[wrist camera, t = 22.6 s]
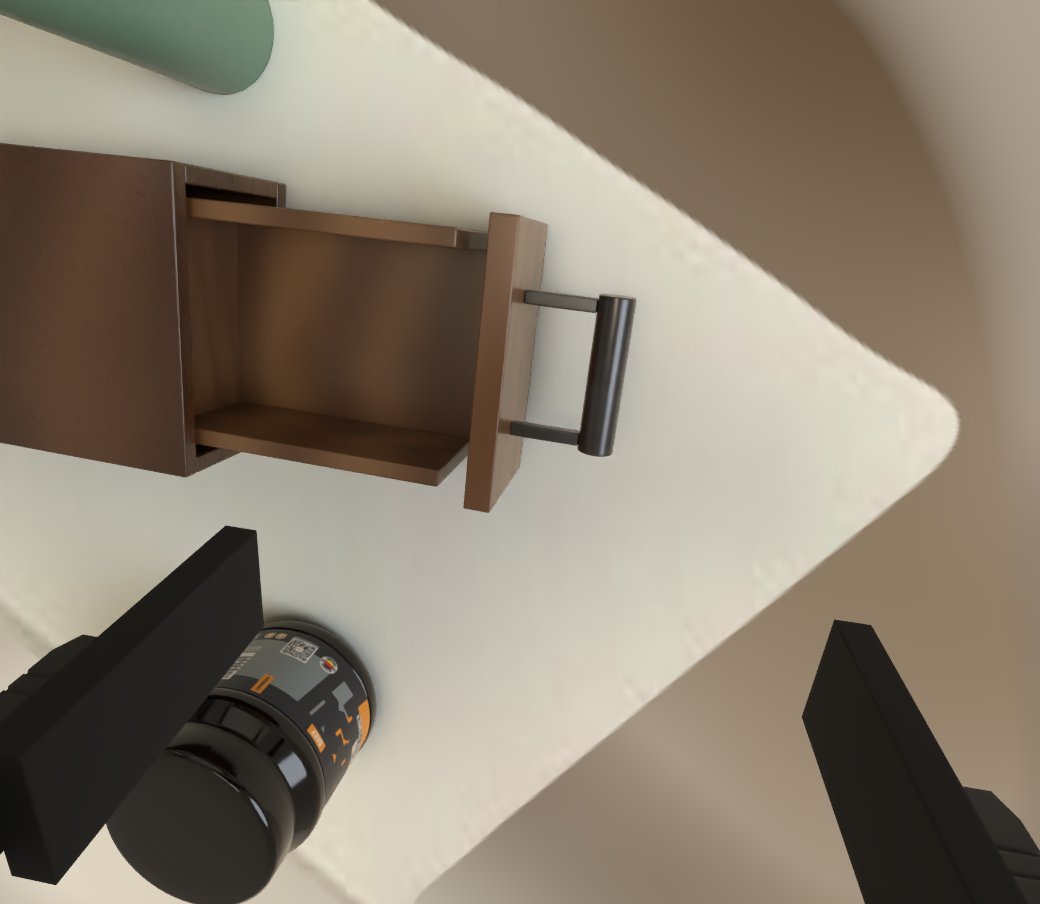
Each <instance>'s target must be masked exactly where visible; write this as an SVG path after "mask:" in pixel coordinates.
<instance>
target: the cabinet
mask: <svg viewBox="0 0 1040 904" xmlns="http://www.w3.org/2000/svg"><path fill="white" fill-rule="evenodd" d="M186 197H190V198H199V199H208V200H217V201H225V202H234V203H243V204H252V205H261V206H270V207H279V208H285V184H282V183H277V182H273V181H268V180H263V179H258V178H253V177H248V176H243V175H238V174H233V173H229V172H224V171H219V170H214V169H209V168H204V167H199V166H194V165H190V164H184V163H180V162H175V161H168V160H159V159H149V158H139V157H130V156H120V155H110V154H101V153H91V152H81V151H72V150H62V149H52V148H43V147H33V146H23V145H14V144H4V143H0V443H5V444H10V445H16V446H21V447H26V448H32V449H37V450H42V451H48V452H53V453H58V454H64V455H69V456H74V457H80V458H85V459H90V460H96V461H101V462H106V463H112V464H117V465H122V466H128V467H133V468H138V469H144V470H149V471H154V472H160V473H165V474H170V475H175V476H181V477H188V476H190V475H193V474H195V473H196V472H199V471H201V470H203V469H206V468H208V467H210V466H212V465H214V464H216V463H219V462H221V461H223V460H225V459H227V458H229V457H232V456H234V455H236V454H238V453H240V451H234V450H228V449H223V448H217V447H212V446H206V445H200V444H196V441H195V416H194V391H193V365H192V340H191V315H190V289H189V264H188V239H187V213H186Z"/></svg>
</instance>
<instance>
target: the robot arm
mask: <svg viewBox="0 0 1040 904" xmlns="http://www.w3.org/2000/svg"><path fill="white" fill-rule="evenodd" d="M263 627H264V621H263V608H262V596H261V583H260V570H259V557H258V544H257V532H256V530H250V529H244V528H237V527H231V526H225V527H224V528H222V529H221V530H220V531H219V532H218V533H217V534H215V535H214V536H213V537H212V538H211V539H210V540H209V541H207V542H206V543H205V544H204V545H203V546H202V547H201V548H199V549H198V550H197V551H196V552H195V553H194V554H192V555H191V556H190V557H189V558H188V559H187V560H186V561H184V562H183V563H182V564H181V565H180V566H179V567H178V568H176V569H175V570H174V571H173V572H172V573H171V574H170V575H168V576H167V577H166V578H165V579H164V580H163V581H161V582H160V583H159V584H158V585H157V586H156V587H155V588H153V589H152V590H151V591H150V592H149V593H148V594H147V595H145V596H144V597H143V598H142V599H141V600H140V601H138V602H137V603H136V604H135V605H134V606H133V607H132V608H130V609H129V610H128V611H127V612H126V613H125V614H124V615H122V616H121V617H120V618H119V619H118V620H117V621H116V622H114V623H113V624H112V625H111V626H110V627H109V628H107V629H106V630H105V631H104V632H103V633H102V634H101V635H99V636H98V637H93V636H88V635H81V636H79V637H77V638H75V639H73V640H71V641H69V642H67V643H65V644H63V645H61V646H59V647H57V648H55V649H53V650H52V651H51V652H49V653H48V654H47V655H46V656H44V657H43V658H42V659H41V660H40V661H39V662H37V663H36V664H35V665H34V666H32V667H31V668H30V669H29V670H28V673H27V674H23V675H22V676H20V677H19V678H18V679H17V680H15V681H14V682H13V683H12V684H10V685H9V686H8V689H7V691H2V692H1V693H0V854H1V853H2V852H3V851H4V852H5V855H6V859H7V862H8V865H9V868H10V871H11V874H12V876H16V877H20V878H25V879H30V880H34V881H39V882H44V883H48V884H53V885H56V884H57V883H58V882H59V881H60V880H61V878H62V877H63V876H64V875H65V873H66V872H67V871H68V870H69V868H70V867H71V866H72V865H73V863H74V862H75V861H76V860H77V858H78V857H79V856H80V855H81V853H82V852H83V851H84V850H85V848H86V847H87V846H88V845H89V843H90V842H91V841H92V840H93V838H94V837H95V836H96V835H97V834H98V832H99V831H100V830H101V828H102V827H103V826H104V825H105V824H106V822H107V821H108V820H109V819H110V817H111V816H112V815H113V814H114V812H115V811H116V810H117V809H118V807H119V806H120V805H121V804H122V802H123V801H124V800H125V799H126V797H127V796H128V795H129V794H130V792H131V791H132V790H133V789H134V787H135V786H136V785H137V784H138V782H139V781H140V780H141V779H142V777H143V776H144V775H145V774H146V772H147V771H148V770H149V769H150V767H151V766H152V765H153V764H154V763H155V761H156V760H157V759H158V758H159V756H160V755H161V754H162V753H163V751H164V750H165V749H166V748H167V746H168V745H169V744H170V743H171V741H172V740H173V739H174V738H175V736H176V735H177V734H178V733H179V731H180V730H181V729H182V728H183V726H184V725H185V724H186V723H187V721H188V720H189V719H190V718H191V716H192V715H193V714H194V713H195V711H196V710H197V709H198V708H199V706H200V705H201V704H202V703H203V701H204V700H205V699H206V698H207V696H208V695H209V694H210V693H211V692H212V690H213V689H214V688H215V687H216V685H217V684H218V683H219V682H220V680H221V679H222V678H223V677H224V675H225V674H226V673H227V672H228V670H229V669H230V668H231V667H232V665H233V664H234V663H235V662H236V660H237V659H238V658H239V657H240V655H241V654H242V653H243V652H244V650H245V649H246V648H247V647H248V645H249V644H250V643H251V642H252V640H253V639H254V638H255V637H256V635H257V634H258V633H259V632H260V630H261V629H262V628H263ZM802 719H803V721H804V725H805V728H806V731H807V734H808V737H809V740H810V743H811V745H812V748H813V751H814V754H815V757H816V760H817V763H818V766H819V769H820V772H821V775H822V778H823V781H824V784H825V787H826V790H827V793H828V796H829V799H830V802H831V805H832V807H833V811H834V814H835V816H836V819H837V822H838V825H839V828H840V831H841V834H842V837H843V840H844V843H845V846H846V849H847V852H848V855H849V858H850V861H851V864H852V867H853V869H854V872H855V876H856V878H857V881H858V884H859V887H860V890H861V893H862V896H863V899H864V902H865V904H1040V850H1039V849H1038V847H1037V846H1036V844H1035V843H1034V841H1033V839H1032V838H1031V836H1030V834H1029V833H1028V831H1027V830H1026V828H1025V827H1024V825H1023V824H1022V822H1021V820H1020V819H1019V818H1018V817H1017V816H1016V815H1014V813H1013V812H1011V810H1010V809H1009V808H1007V807H1006V806H1005V805H1004V804H1003V803H1002V802H1001V801H1000V800H999V799H998V798H997V797H996V796H995V795H994V794H993V793H992V792H991V791H985V790H980V789H974V788H968V787H963V786H962V785H961V783H960V781H959V780H958V778H957V776H956V775H955V773H954V771H953V769H952V767H951V766H950V764H949V762H948V760H947V759H946V757H945V755H944V753H943V752H942V750H941V748H940V746H939V744H938V743H937V741H936V739H935V737H934V735H933V734H932V732H931V730H930V728H929V727H928V725H927V723H926V721H925V720H924V718H923V716H922V714H921V713H920V711H919V709H918V707H917V706H916V704H915V702H914V700H913V698H912V697H911V695H910V693H909V691H908V689H907V688H906V686H905V684H904V682H903V681H902V679H901V677H900V675H899V673H898V672H897V670H896V668H895V666H894V665H893V663H892V661H891V659H890V658H889V656H888V654H887V652H886V651H885V649H884V647H883V645H882V644H881V642H880V640H879V638H878V636H877V635H876V633H875V631H874V629H873V628H872V626H871V625H866V624H860V623H853V622H847V621H840V620H834V622H833V625H832V628H831V631H830V634H829V637H828V640H827V643H826V646H825V649H824V652H823V655H822V658H821V661H820V664H819V667H818V670H817V674H816V676H815V679H814V682H813V685H812V688H811V692H810V694H809V697H808V700H807V703H806V706H805V709H804V712H803V715H802Z"/></svg>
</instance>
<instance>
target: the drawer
mask: <svg viewBox="0 0 1040 904" xmlns="http://www.w3.org/2000/svg"><path fill="white" fill-rule="evenodd" d="M186 213H187V239H188V264H189V289H190V315H191V340H192V365H193V391H194V416H195V441H196V444H200V445H206V446H212V447H217V448H223V449H228V450H234V451H240V452H245V453H251V454H256V455H262V456H268V457H273V458H279V459H284V460H290V461H296V462H301V463H307V464H312V465H318V466H324V467H329V468H335V469H341V470H346V471H352V472H357V473H363V474H369V475H374V476H380V477H385V478H391V479H397V480H402V481H408V482H413V483H419V484H425V485H430V486H438V485H439V484H440V483H441V482H442V481H443V480H444V479H445V478H446V477H447V476H448V475H449V474H450V473H451V472H452V471H453V470H454V469H455V468H456V467H457V466H458V465H459V464H460V463H461V462H462V461H463V460H464V459H465V458H466V457H467V456H468V462H467V473H466V484H465V495H464V506H463V507H464V508H465V509H470V510H476V511H481V512H487V513H489V512H490V510H491V509H492V508H493V506H494V505H495V503H496V502H497V500H498V499H499V497H500V496H501V494H502V493H503V491H504V490H505V488H506V487H507V485H508V484H509V482H510V481H511V479H512V478H513V476H514V475H515V473H516V472H517V470H518V469H519V467H520V461H521V452H522V443H523V437H526V438H532V439H538V440H544V441H551V442H557V443H563V444H569V445H575V446H576V445H578V450H579V451H580V452H582V453H584V454H587V455H591V456H598V457H604V456H610V455H611V454H612V451H613V445H614V438H615V432H616V426H617V420H618V413H619V407H620V401H621V394H622V388H623V382H624V376H625V369H626V363H627V357H628V351H629V344H630V338H631V332H632V325H633V319H634V313H635V307H636V298H633V297H627V296H620V295H611V294H600V295H599V299H598V298H593V297H585V296H577V295H569V294H561V293H553V292H545V291H540V288H541V279H542V271H543V262H544V253H545V245H546V236H547V228H548V225H547V224H544V223H541V222H538V221H535V220H532V219H529V218H526V217H523V216H520V215H513V214H503V213H494V212H491V213H490V219H489V230H488V233H487V232H481V231H474V230H468V229H462V228H456V227H447V226H438V225H430V224H421V223H412V222H403V221H394V220H385V219H376V218H367V217H359V216H350V215H341V214H332V213H323V212H314V211H305V210H296V209H288V208H279V207H270V206H261V205H252V204H243V203H234V202H225V201H217V200H208V199H199V198H190V197H186ZM538 306H545V307H553V308H561V309H568V310H576V311H584V312H592V313H596V312H597V314H596V321H595V328H594V335H593V342H592V349H591V356H590V364H589V371H588V378H587V385H586V392H585V399H584V406H583V413H582V420H581V427H580V431H578V430H572V429H565V428H559V427H553V426H546V425H540V424H534V423H528V422H525V417H526V409H527V400H528V392H529V383H530V374H531V366H532V357H533V348H534V340H535V331H536V322H537V314H538Z"/></svg>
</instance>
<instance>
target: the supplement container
mask: <svg viewBox="0 0 1040 904" xmlns="http://www.w3.org/2000/svg"><path fill="white" fill-rule="evenodd" d="M375 716H376V694H375V689H374V685H373V682H372V680H371V677H370V675H369V673H368V671H367V669H366V667H365V665H364V664H363V662H362V661H361V659H360V658H359V657H358V655H357V654H356V653H355V652H354V651H353V650H352V649H351V648H350V647H349V646H348V645H347V644H346V643H345V642H344V641H342V640H341V639H340V638H339V637H337V636H336V635H334V634H333V633H331V632H329V631H327V630H325V629H323V628H321V627H318V626H315V625H313V624H309V623H305V622H300V621H289V620H285V621H275V622H270V623H267V624H264V627H263V628H262V629H261V630H260V632H259V633H258V634H257V635H256V637H255V638H254V639H253V640H252V642H251V643H250V644H249V645H248V647H247V648H246V649H245V650H244V652H243V653H242V654H241V655H240V657H239V658H238V659H237V660H236V662H235V663H234V664H233V665H232V667H231V668H230V669H229V670H228V672H227V673H226V674H225V675H224V677H223V678H222V679H221V680H220V682H219V683H218V684H217V685H216V687H215V688H214V689H213V690H212V692H211V693H210V694H209V695H208V696H207V698H206V699H205V700H204V701H203V703H202V704H201V705H200V706H199V708H198V709H197V710H196V711H195V713H194V714H193V715H192V716H191V718H190V719H189V720H188V721H187V723H186V724H185V725H184V726H183V728H182V729H181V730H180V731H179V733H178V734H177V735H176V736H175V738H174V739H173V740H172V741H171V743H170V744H169V745H168V746H167V748H166V749H165V750H164V751H163V753H162V754H161V755H160V756H159V758H158V759H157V760H156V761H155V763H154V764H153V765H152V766H151V767H150V769H149V770H148V771H147V772H146V774H145V775H144V776H143V777H142V779H141V780H140V781H139V782H138V784H137V785H136V786H135V787H134V789H133V790H132V791H131V792H130V794H129V795H128V796H127V797H126V799H125V800H124V801H123V802H122V804H121V805H120V806H119V807H118V809H117V810H116V811H115V812H114V814H113V815H112V816H111V817H110V819H109V820H108V821H107V822H106V825H107V828H108V831H109V833H110V835H111V838H112V840H113V842H114V843H115V845H116V847H117V848H118V850H119V851H120V853H121V854H122V856H123V857H124V858H125V859H126V861H127V862H128V863H129V864H130V865H131V866H132V867H133V868H134V869H135V870H136V871H137V872H138V873H139V874H140V875H141V876H142V877H143V878H145V879H146V880H147V881H148V882H150V883H151V884H153V885H154V886H156V887H157V888H158V889H160V890H162V891H164V892H165V893H167V894H169V895H171V896H173V897H175V898H178V899H180V900H183V901H186V902H189V903H192V904H240V903H243V902H246V901H248V900H250V899H252V898H253V897H255V896H257V895H258V894H259V893H260V892H261V891H262V890H263V889H264V888H265V887H266V886H267V885H268V883H269V882H270V880H271V879H272V877H273V876H274V874H275V872H276V871H277V869H278V868H279V866H280V864H281V863H282V861H283V860H284V858H285V856H286V855H287V854H288V853H289V852H291V851H293V850H294V849H296V848H297V847H298V846H300V845H301V844H302V843H303V842H304V841H305V840H306V839H307V838H308V837H309V835H310V834H311V833H312V831H313V830H314V828H315V826H316V825H317V823H318V821H319V819H320V816H321V814H322V810H323V809H324V807H325V805H326V804H327V802H328V800H329V799H330V797H331V795H332V794H333V792H334V791H335V789H336V787H337V786H338V784H339V782H340V781H341V779H342V777H343V776H344V774H345V773H346V771H347V769H348V768H349V766H350V764H351V763H352V761H353V759H354V758H355V756H356V755H357V753H358V751H359V750H360V749H361V748H362V747H363V745H364V744H365V742H366V741H367V739H368V737H369V735H370V733H371V731H372V728H373V725H374V721H375Z"/></svg>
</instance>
